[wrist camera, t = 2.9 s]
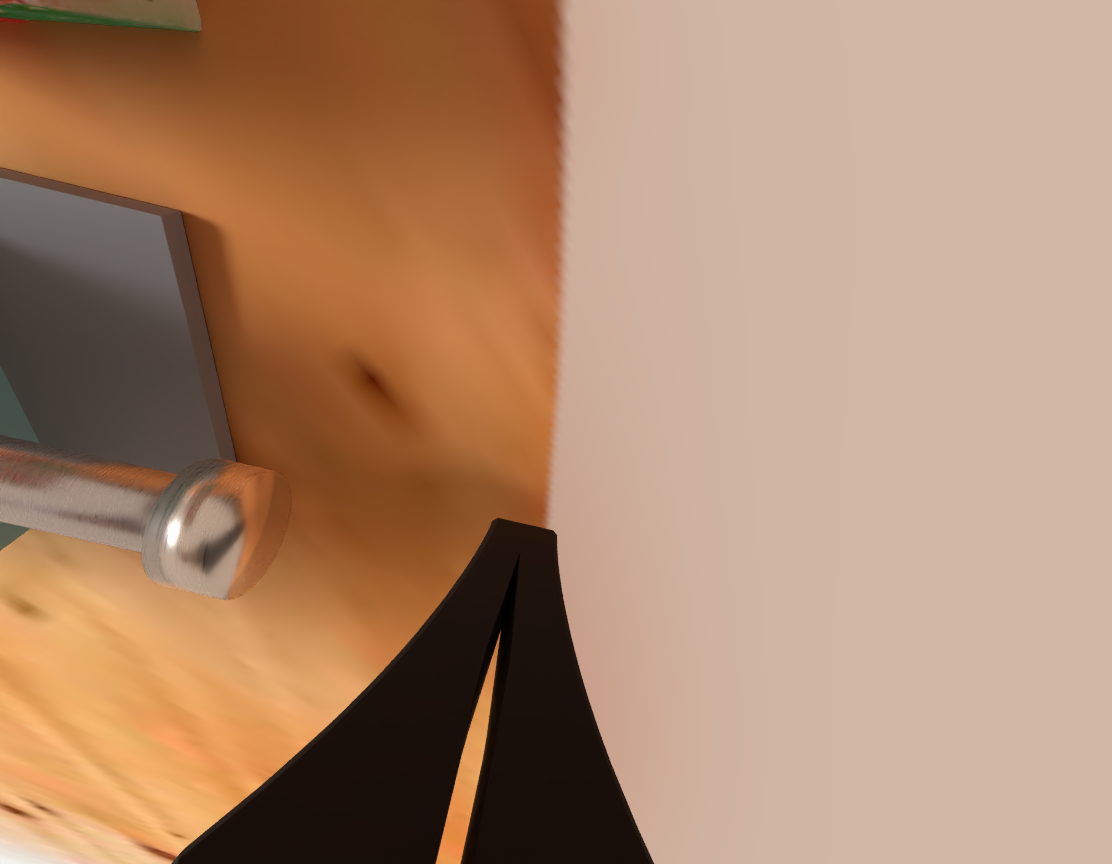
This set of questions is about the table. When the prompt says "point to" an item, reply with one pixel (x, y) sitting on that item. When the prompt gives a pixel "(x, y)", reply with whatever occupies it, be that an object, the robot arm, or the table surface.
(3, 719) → the table surface
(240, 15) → the table surface
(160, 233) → the bearing block
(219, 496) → the shaft
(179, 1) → the stack of blocks
